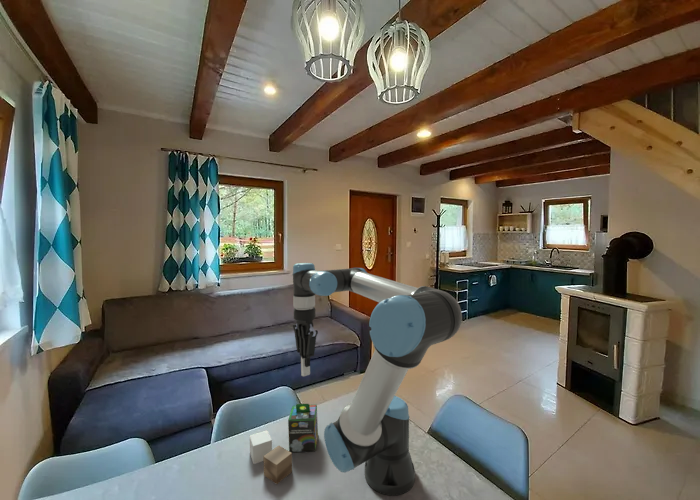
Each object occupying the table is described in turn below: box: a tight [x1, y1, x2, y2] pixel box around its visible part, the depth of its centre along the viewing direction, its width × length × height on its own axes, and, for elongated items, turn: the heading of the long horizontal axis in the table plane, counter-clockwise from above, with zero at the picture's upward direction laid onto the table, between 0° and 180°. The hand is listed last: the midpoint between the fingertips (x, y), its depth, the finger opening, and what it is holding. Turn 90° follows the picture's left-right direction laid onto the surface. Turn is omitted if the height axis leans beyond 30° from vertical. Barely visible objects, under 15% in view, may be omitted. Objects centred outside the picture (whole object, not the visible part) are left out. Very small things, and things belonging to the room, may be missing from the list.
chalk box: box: [287, 403, 319, 453], centre depth 105 cm, size 9×9×15 cm
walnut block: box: [263, 445, 293, 485], centre depth 91 cm, size 6×6×6 cm
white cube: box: [249, 429, 273, 465], centre depth 99 cm, size 6×6×6 cm
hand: (305, 374), depth 104 cm, fingers closed
